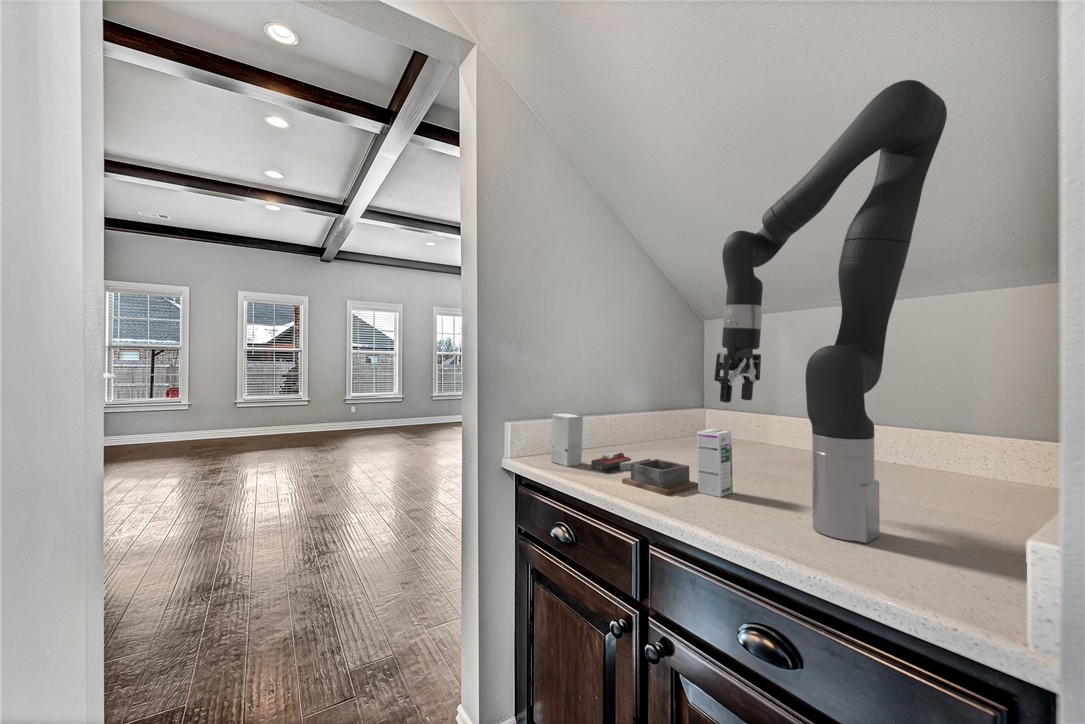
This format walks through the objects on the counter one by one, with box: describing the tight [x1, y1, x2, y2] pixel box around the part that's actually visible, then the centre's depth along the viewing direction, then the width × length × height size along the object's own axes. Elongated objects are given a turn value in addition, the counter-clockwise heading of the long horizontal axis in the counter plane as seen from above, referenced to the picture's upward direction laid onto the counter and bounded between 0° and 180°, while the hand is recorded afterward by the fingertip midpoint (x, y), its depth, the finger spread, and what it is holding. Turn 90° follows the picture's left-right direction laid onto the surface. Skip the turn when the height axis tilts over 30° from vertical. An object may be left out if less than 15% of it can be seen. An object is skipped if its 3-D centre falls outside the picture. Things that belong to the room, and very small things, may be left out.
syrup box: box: [696, 428, 734, 498], centre depth 105 cm, size 6×6×14 cm
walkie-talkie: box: [591, 451, 651, 474], centre depth 132 cm, size 9×4×20 cm
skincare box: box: [550, 413, 584, 467], centre depth 137 cm, size 8×6×15 cm
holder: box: [621, 458, 698, 496], centre depth 112 cm, size 14×12×5 cm
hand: (736, 400), depth 98 cm, fingers open, 8 cm apart
